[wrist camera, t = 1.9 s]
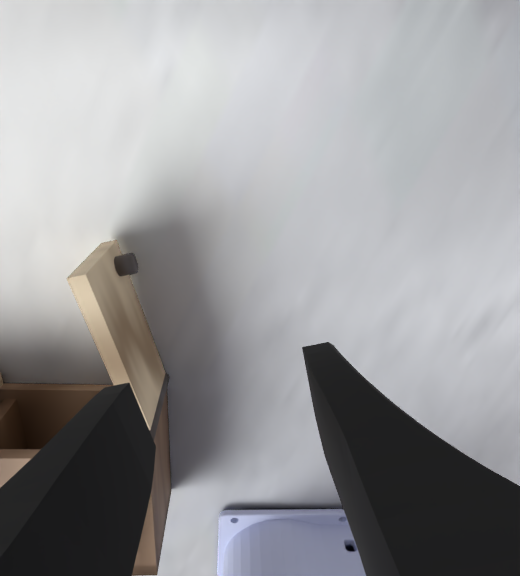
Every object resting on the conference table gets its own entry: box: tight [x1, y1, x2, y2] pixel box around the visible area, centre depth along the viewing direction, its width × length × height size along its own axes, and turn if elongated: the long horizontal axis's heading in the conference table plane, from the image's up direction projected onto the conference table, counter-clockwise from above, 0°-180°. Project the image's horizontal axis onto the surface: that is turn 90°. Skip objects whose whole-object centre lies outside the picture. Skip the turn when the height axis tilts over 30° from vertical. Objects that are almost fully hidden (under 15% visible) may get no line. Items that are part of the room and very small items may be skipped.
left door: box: [67, 240, 169, 440], centre depth 18 cm, size 8×1×5 cm, turn 11°
